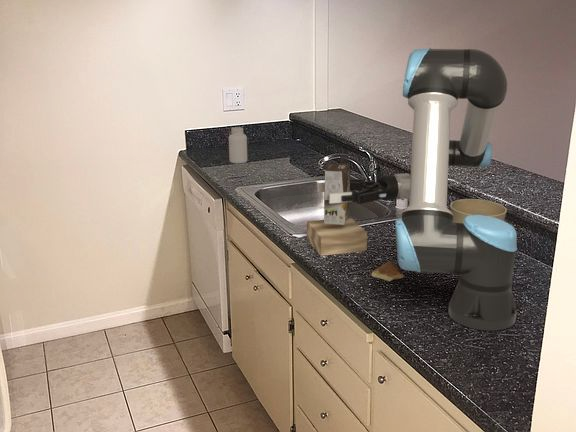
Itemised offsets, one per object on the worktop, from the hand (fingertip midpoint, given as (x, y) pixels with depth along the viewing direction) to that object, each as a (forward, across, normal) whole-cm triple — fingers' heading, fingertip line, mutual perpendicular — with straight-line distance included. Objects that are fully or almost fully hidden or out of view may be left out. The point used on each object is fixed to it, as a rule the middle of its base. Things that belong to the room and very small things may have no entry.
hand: (323, 193), depth 191 cm
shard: (-10, -23, -17) cm, 30 cm away
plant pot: (-37, -22, -17) cm, 46 cm away
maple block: (-4, 0, -17) cm, 17 cm away
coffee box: (-4, 0, -9) cm, 10 cm away
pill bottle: (+5, +107, -17) cm, 108 cm away
